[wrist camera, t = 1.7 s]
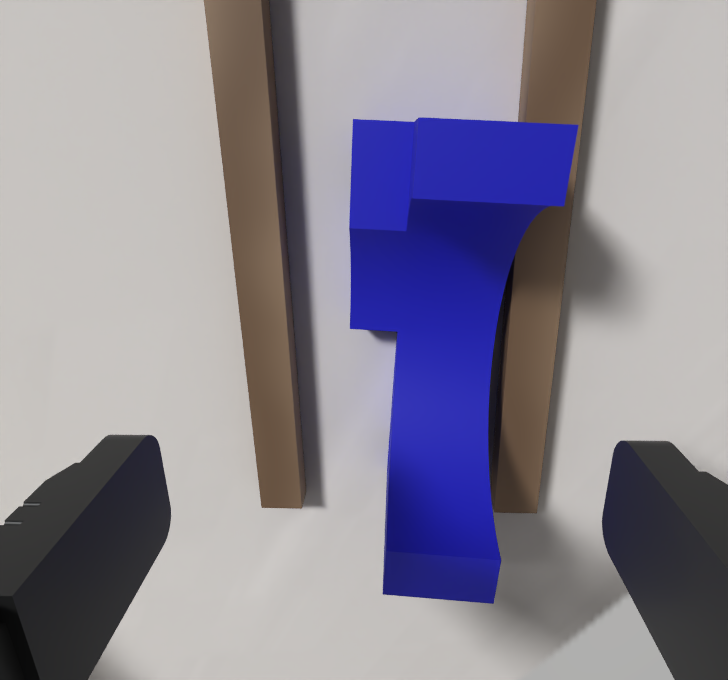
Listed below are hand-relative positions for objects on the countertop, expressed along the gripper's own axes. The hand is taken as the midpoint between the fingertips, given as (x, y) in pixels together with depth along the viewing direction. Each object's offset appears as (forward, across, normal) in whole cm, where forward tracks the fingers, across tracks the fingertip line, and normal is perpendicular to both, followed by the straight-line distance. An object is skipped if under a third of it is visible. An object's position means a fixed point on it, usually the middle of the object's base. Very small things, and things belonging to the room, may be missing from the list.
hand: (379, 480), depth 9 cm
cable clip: (+9, -1, 0) cm, 9 cm away
